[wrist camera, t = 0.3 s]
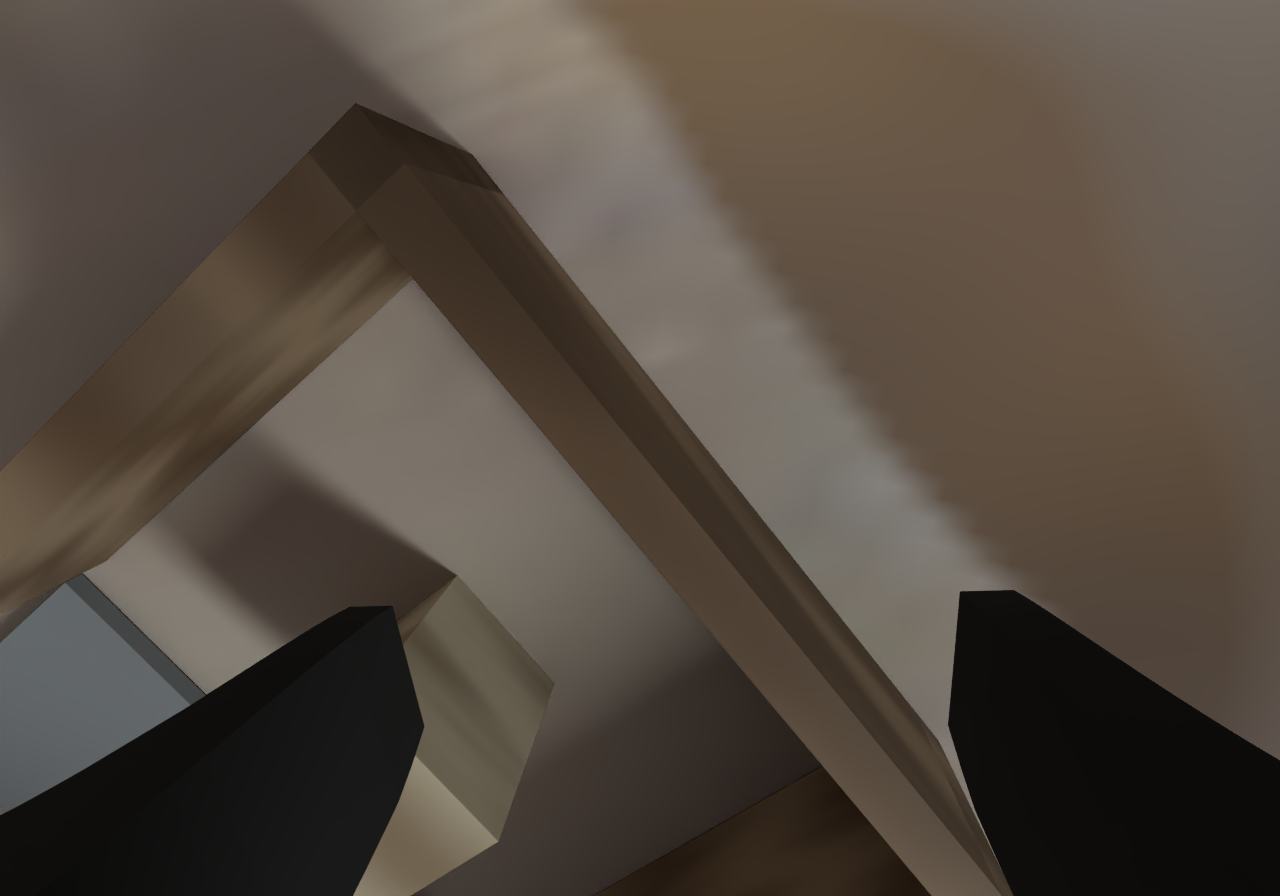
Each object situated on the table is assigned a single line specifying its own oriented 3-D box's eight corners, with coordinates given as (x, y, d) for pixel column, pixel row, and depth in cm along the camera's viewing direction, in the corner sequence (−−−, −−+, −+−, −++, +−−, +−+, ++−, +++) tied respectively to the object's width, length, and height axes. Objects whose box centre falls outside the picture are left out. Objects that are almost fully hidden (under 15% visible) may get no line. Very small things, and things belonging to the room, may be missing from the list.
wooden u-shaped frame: (519, 972, 24) (462, 1193, 19) (76, 532, 21) (-159, 635, 15) (939, 741, 20) (1031, 932, 15) (472, 155, 17) (355, 103, 11)
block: (450, 752, 22) (362, 925, 16) (355, 652, 21) (227, 797, 16) (554, 682, 21) (498, 842, 15) (457, 574, 20) (360, 699, 15)
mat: (313, 1060, 27) (305, 1077, 26) (-71, 714, 24) (-90, 726, 23) (480, 965, 24) (475, 982, 24) (82, 573, 22) (65, 582, 21)
